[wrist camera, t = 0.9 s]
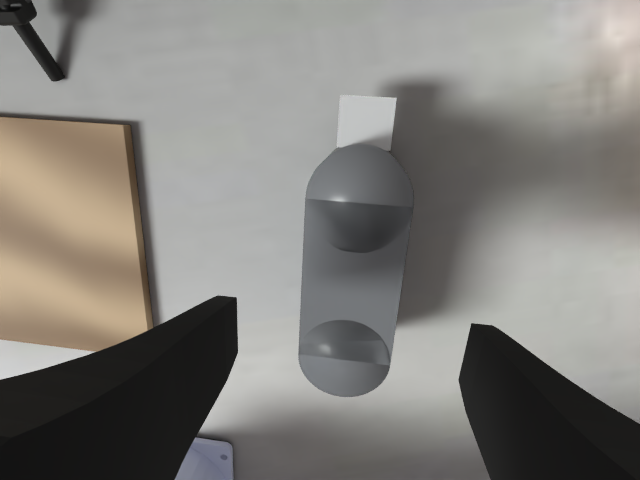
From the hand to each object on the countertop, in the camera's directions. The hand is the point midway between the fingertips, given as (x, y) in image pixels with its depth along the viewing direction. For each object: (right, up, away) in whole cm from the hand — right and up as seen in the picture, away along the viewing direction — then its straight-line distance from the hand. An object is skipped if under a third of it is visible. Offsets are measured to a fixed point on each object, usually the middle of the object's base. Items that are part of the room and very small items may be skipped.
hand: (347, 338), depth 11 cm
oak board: (-18, +3, +10) cm, 21 cm away
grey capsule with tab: (+1, +3, +8) cm, 8 cm away
